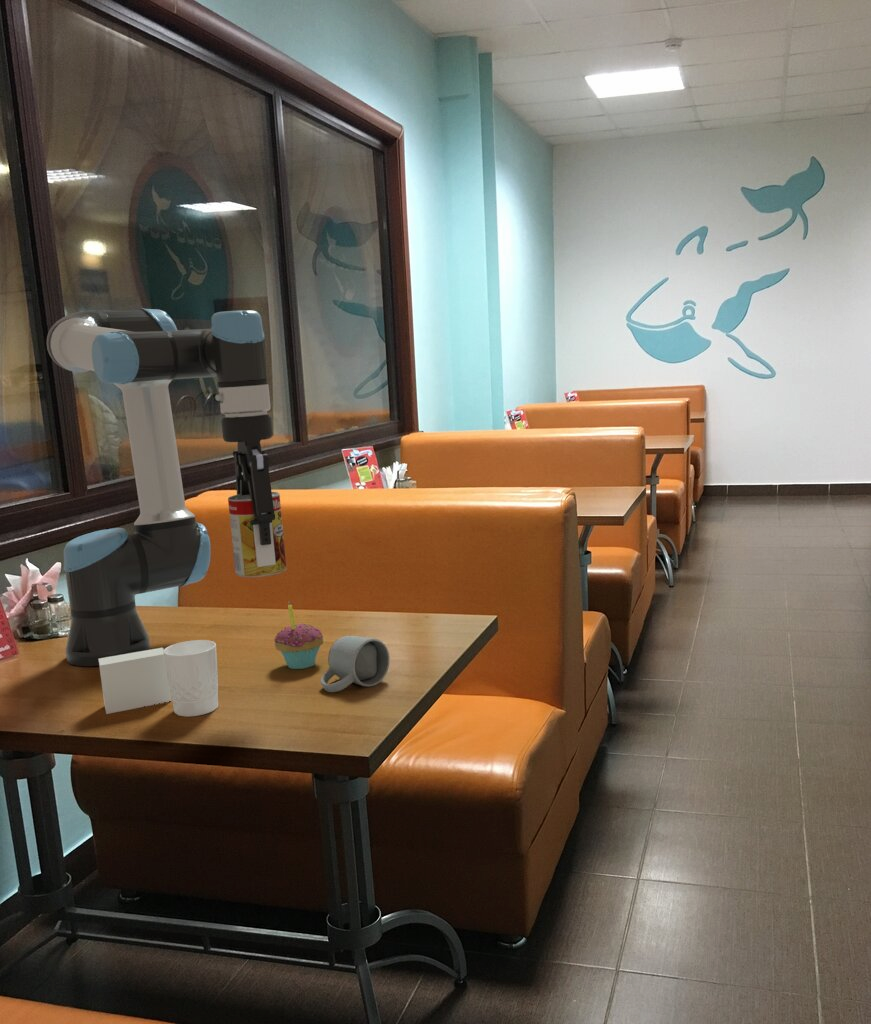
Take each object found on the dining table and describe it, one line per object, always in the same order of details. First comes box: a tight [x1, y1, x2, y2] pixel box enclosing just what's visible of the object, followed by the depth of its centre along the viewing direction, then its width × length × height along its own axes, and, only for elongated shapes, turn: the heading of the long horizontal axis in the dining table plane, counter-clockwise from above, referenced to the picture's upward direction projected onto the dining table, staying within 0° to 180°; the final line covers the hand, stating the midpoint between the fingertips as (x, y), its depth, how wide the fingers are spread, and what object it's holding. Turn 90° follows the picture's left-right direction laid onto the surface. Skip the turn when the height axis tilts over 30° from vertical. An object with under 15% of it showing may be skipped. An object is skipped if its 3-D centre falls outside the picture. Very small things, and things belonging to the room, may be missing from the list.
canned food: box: [227, 491, 287, 578], centre depth 147 cm, size 8×8×12 cm
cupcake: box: [274, 601, 324, 670], centre depth 165 cm, size 9×8×12 cm
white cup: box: [163, 639, 219, 718], centre depth 147 cm, size 8×8×10 cm
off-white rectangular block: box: [98, 647, 173, 715], centre depth 151 cm, size 4×10×8 cm, turn 113°
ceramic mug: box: [320, 635, 390, 693], centre depth 154 cm, size 11×8×8 cm
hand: (260, 560), depth 148 cm, fingers closed on canned food, 8 cm apart
